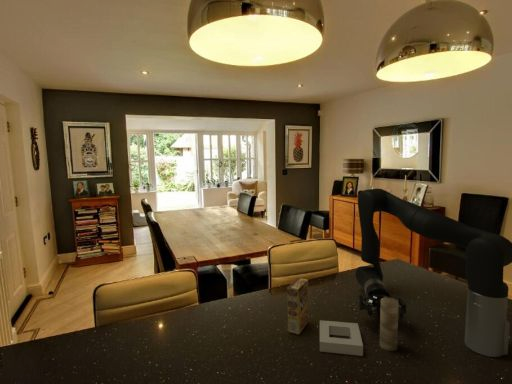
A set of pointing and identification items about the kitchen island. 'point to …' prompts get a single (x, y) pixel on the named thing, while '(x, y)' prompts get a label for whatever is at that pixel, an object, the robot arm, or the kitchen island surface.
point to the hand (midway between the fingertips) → (385, 315)
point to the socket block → (340, 344)
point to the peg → (389, 324)
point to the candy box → (297, 305)
